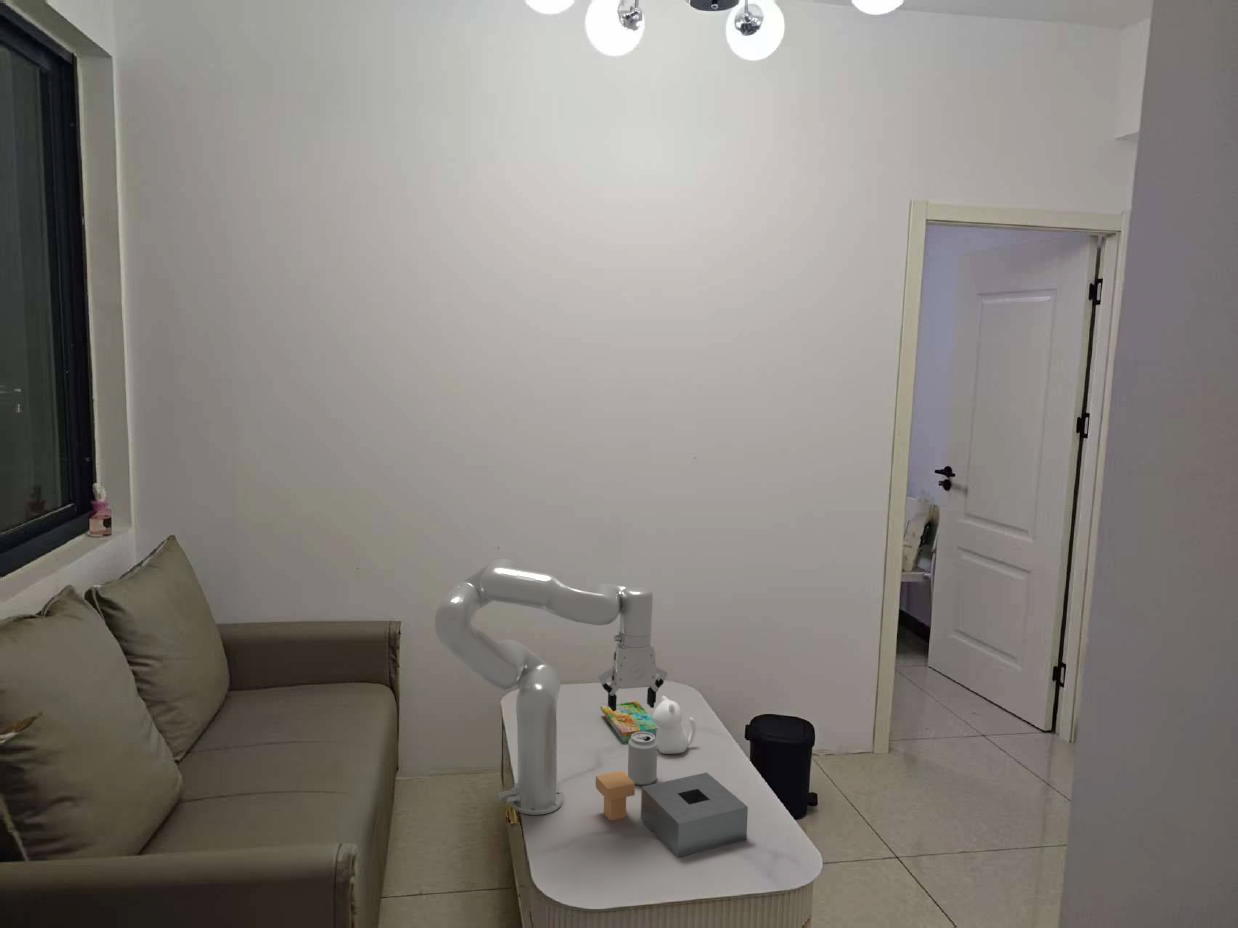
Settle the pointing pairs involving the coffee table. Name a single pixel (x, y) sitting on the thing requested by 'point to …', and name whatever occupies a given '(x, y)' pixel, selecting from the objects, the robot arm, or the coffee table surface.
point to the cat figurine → (671, 728)
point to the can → (642, 758)
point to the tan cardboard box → (615, 793)
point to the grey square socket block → (693, 814)
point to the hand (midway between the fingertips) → (631, 707)
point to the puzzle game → (629, 719)
